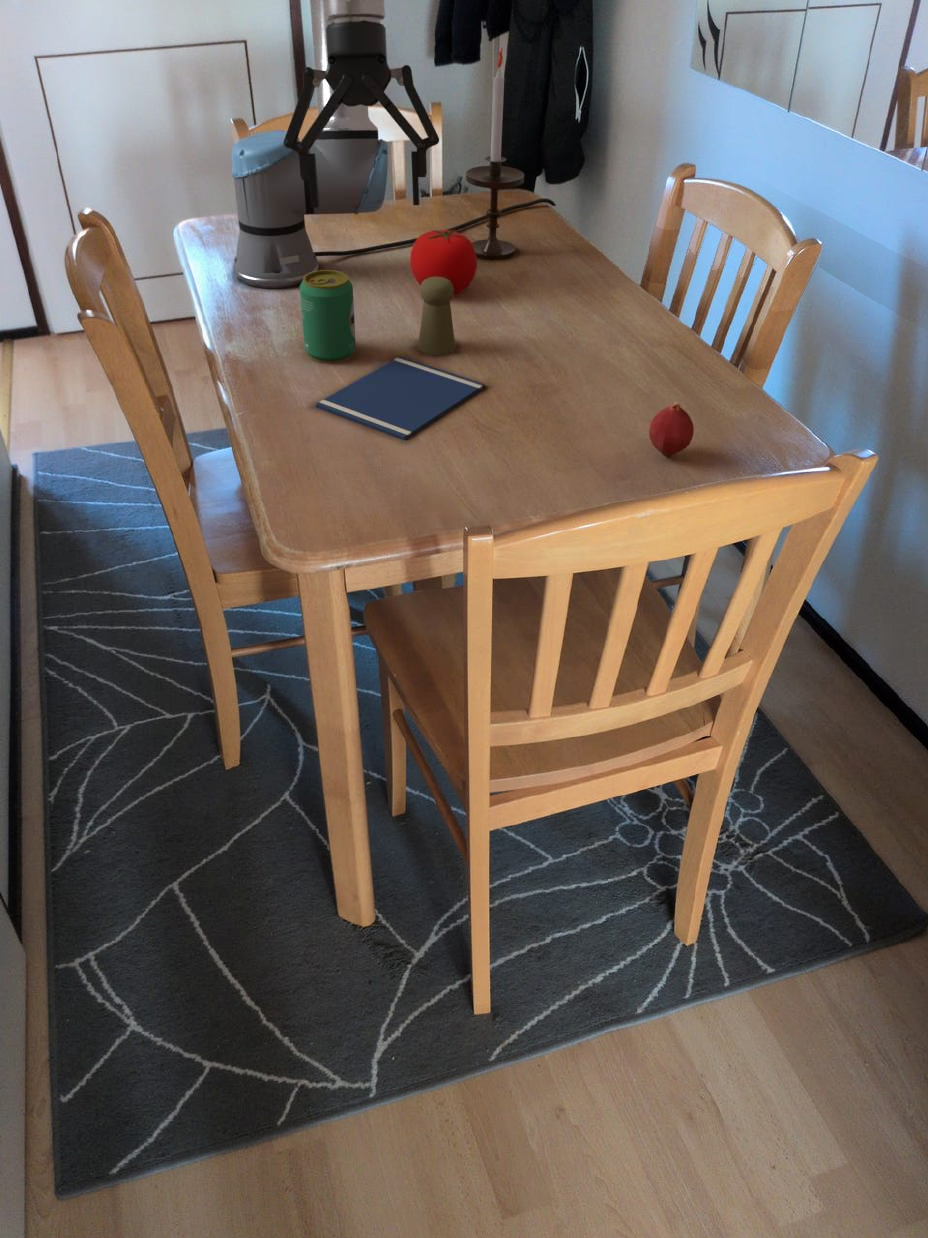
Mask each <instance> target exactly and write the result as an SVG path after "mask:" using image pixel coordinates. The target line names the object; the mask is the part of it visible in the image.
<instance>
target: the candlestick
mask: <svg viewBox="0 0 928 1238" xmlns="http://www.w3.org/2000/svg"><path fill="white" fill-rule="evenodd" d="M503 49H504V48H503V47H501V50H500V51H499V52H498V57H499V58H498V59H497V63H496V64H497V72H496V75H495V76H493V81H492V82H493V84H492V89H493V90H492V108H491V109H492V110H491V111H492V113H491V114H492V115H491V135H490V136H491V137H490V142H491V143H490V156H486V157H485V158H484V159H485V161H487V162H489V165H481V166H475V167H471V168H469V169H468V170H467V171H465V181H466V182H467V183H468V184H470V185H472V186H474V187H480V188H484V189H489V190H490V204H489V205H490V206H489V208H487V209H486V212H485V213H486V214H485V215H487V216H488V217H489V218H488V222H487V223H486V228H488V237H487V238H486V239H480V240H475V241H473V242H471V243H472V245H473V247H474V250H475V253H476V258H477V259H480V260H485V261H502V260H507V259H508V260H509V259H511V258H513V257H514V256H515V254H516V246H515V244H513V243H511V242H509V241H506V240H502V239H498V237H497V229H499V228H500V224H499V223H498V219H499V218H500V217H501V215H502V214H501V211H500V210H501V209H500V208H498V202H499V201H498V200H499V190H501V189H510V188H516V187H518V186H521V185H523V184H524V182H525V173H524V172H523V171H521V170H520V169H517V168H515V167H511V166H504V165H502V162H506V161H507V158H506V157H504V156H502V140H503V139H502V136H503V118H504V117H503V114H504V93H505V92H504V91H505V77H504V76H503V75H502V64H503V59H504V55H503Z"/></svg>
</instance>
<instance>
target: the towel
mask: <svg viewBox="0 0 928 1238" xmlns="http://www.w3.org/2000/svg"><path fill="white" fill-rule="evenodd" d="M485 387H486V384H485V383H482V382H479V381H477V380H473V379H470V378H468V377H464V376H461V375H459V374H455V373H453V372H449V371H447V370H443V369H441V368H437V367H434V366H431V365H428V364H425V363H422V362H419V361H416V360H413V359H410V358H407V357H404V356H401V355H400V356H398V357H396V358H394V359H392V360H390V361H389V362H387V363H386V364H384V365H382V366H381V367H379V368H377V369H374V371H372V372H370V373H368V374H366V375H364V376H363V377H361V378H359V379H357V380H356V381H353V382H352V383H350V384H348V385H346V386H345V387H343V388H342V389H339V390H338V391H336V392H334V393H332V394H331V395H329V396H327V397H326V398H323V399H322V400H320V401H318V402H317V403H315V408H318V409H320V410H323V411H325V412H327V413H331V414H334V415H336V416H339V417H342V418H344V419H347V420H349V421H353V422H355V423H358V424H360V425H363V426H366V427H368V428H370V429H374V430H376V431H379V432H382V433H385V434H387V435H390V436H392V437H395V438H398V439H399V440H403V441H405V440H407V439H408V438H410V437H411V436H413V435H414V434H416V433H417V432H419V431H420V430H422V429H423V428H425V427H426V426H428V425H430V424H431V423H432V422H434V421H435V420H438V419H439V418H440V417H441V416H443V415H445V414H446V413H447V412H449V411H450V410H452V409H454V408H455V407H457V406H459V405H460V404H462V403H463V402H464V401H466V400H467V399H469V398H470V397H472V396H474V395H475V394H477V393H478V392H480V391H481V390H483V389H484V388H485Z"/></svg>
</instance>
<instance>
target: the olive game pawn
mask: <svg viewBox="0 0 928 1238" xmlns="http://www.w3.org/2000/svg"><path fill="white" fill-rule="evenodd" d="M453 293H454V288H453V285H452V283H451V281H450V280H448V279H446V278H443V277H430V278H427V279H425V280H424V281H423V282H422V284H421V286H420V289H419V294H420V298H421V299H422V300H423V303H422V304H423V306H422V312H421V319H420V329H419V337H418V342H417V343H418V345H417V349H418V351H419V352H421V353H423V354H426V355H429V356H445V355H448V354H451V353H453V352H454V351H455V350H456V341H455V332H454V323H453V316H452V308H451V301H452V299H453V298H454V295H453Z"/></svg>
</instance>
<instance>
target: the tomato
mask: <svg viewBox="0 0 928 1238" xmlns="http://www.w3.org/2000/svg"><path fill="white" fill-rule="evenodd" d="M455 230H456V229H455ZM416 238H417V240H416V241H415V243H413V245H412V248H411V250H410V255H409V263H410V270H411V273H412V275H413V278H414V280H415V282H417V283H418V285H419V286H420V287H421V284H422V282H423V281H424V280H425V279H427V278H430V277H443V278H446V279H448V280H450V281H451V283H452V285H453V288H454V293H453V296H454V295H458V294H460V293H462V292H463V291H465V290H466V289H468V287H470V285H471V284H472V282H473V281H474V278H475V275H476V272H477V267H478V258H476V253H475V250H474V247H473V245H472V243H473V242H472V241H471V239H469V238H468V237H467V236H466V235H464V234H462V233H460V232H458V231H454V230H451V231H450V230H447V229H440V230H430V231H426V232H424V233H422V234H420V235H419V236H418V237H416Z"/></svg>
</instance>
